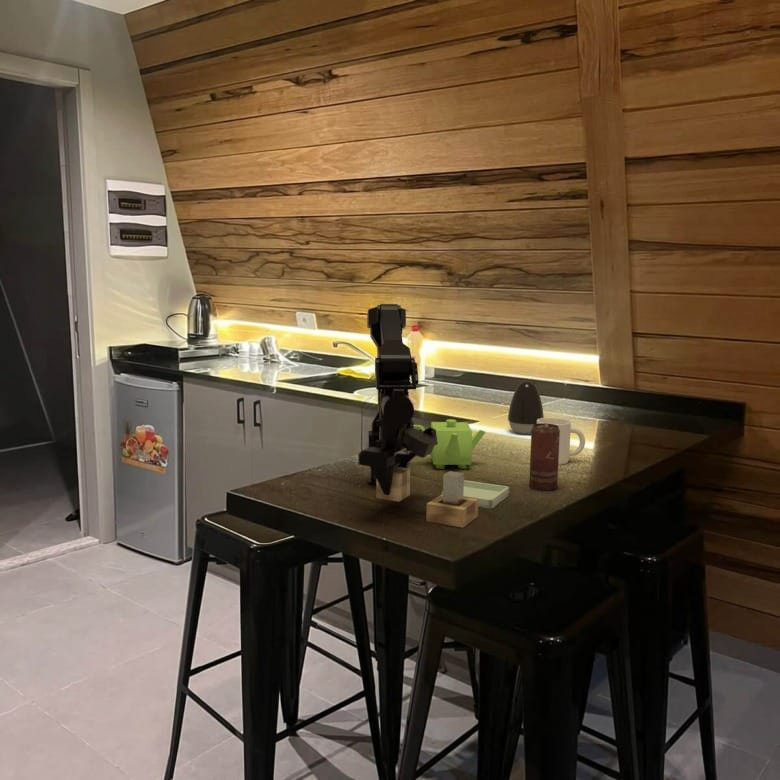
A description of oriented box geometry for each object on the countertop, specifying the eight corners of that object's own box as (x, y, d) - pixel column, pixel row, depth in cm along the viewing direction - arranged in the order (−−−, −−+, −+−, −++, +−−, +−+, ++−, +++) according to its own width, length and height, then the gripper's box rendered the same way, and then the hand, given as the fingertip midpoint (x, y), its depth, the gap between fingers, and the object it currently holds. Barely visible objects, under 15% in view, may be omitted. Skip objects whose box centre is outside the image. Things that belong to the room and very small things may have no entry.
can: (553, 483, 180) (556, 422, 178) (560, 491, 174) (563, 428, 171) (526, 482, 180) (528, 422, 178) (532, 491, 174) (535, 428, 171)
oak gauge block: (426, 521, 153) (426, 503, 152) (442, 510, 160) (442, 493, 159) (463, 527, 150) (463, 509, 149) (477, 516, 156) (478, 499, 156)
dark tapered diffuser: (548, 431, 233) (551, 380, 231) (534, 438, 225) (536, 384, 222) (516, 427, 239) (518, 377, 236) (501, 433, 230) (503, 381, 228)
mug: (582, 458, 202) (584, 418, 201) (585, 467, 194) (587, 425, 193) (534, 456, 204) (536, 417, 202) (535, 464, 196) (537, 423, 194)
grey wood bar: (442, 519, 154) (443, 474, 153) (448, 515, 157) (449, 471, 155) (456, 522, 153) (457, 476, 151) (462, 517, 155) (464, 473, 154)
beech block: (376, 497, 159) (376, 471, 158) (387, 491, 163) (388, 465, 162) (398, 501, 157) (398, 474, 156) (409, 495, 161) (410, 468, 160)
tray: (441, 500, 166) (441, 492, 166) (461, 487, 176) (462, 479, 175) (491, 509, 161) (491, 500, 161) (509, 495, 171) (509, 486, 170)
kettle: (454, 476, 185) (455, 429, 183) (408, 465, 194) (408, 420, 192) (491, 464, 196) (493, 419, 194) (446, 454, 205) (447, 411, 203)
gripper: (409, 428, 145) (408, 510, 148) (450, 411, 162) (448, 485, 164) (356, 421, 150) (356, 501, 153) (401, 406, 167) (400, 478, 169)
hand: (393, 491), depth 160 cm, fingers closed on beech block, 5 cm apart
